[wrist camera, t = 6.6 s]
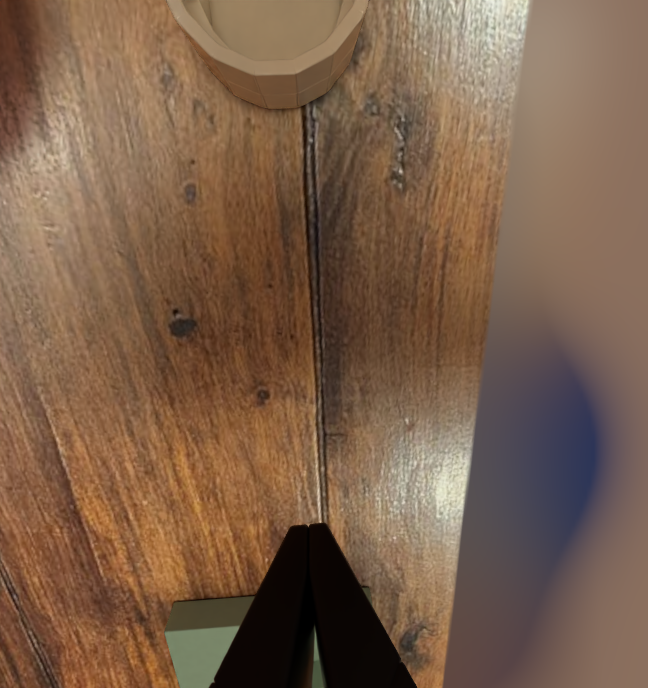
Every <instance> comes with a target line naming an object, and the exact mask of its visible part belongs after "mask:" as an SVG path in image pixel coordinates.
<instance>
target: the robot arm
mask: <svg viewBox="0 0 648 688" xmlns="http://www.w3.org/2000/svg"><path fill="white" fill-rule="evenodd" d="M315 632H316V640H317V648H318V655H319V661H320V668H321V675H322V681H323V688H417V686H416V684H415V683H414V681H413V679H412V677H411V675H410V674H409V672H408V670H407V668H406V666H405V665H404V663H403V662H401V658H400V656H399V654H398V652H397V650H396V649H395V647H394V645H393V643H392V641H391V640H390V638H389V636H388V634H387V632H386V630H385V629H384V627H383V625H382V623H381V621H380V620H379V618H378V616H377V614H376V612H375V610H374V609H373V607H372V605H371V603H370V601H369V600H368V598H367V596H366V594H365V592H364V590H363V589H362V587H361V585H360V583H359V581H358V580H357V578H356V576H355V574H354V572H353V570H352V569H351V567H350V565H349V563H348V561H347V560H346V558H345V556H344V554H343V552H342V550H341V549H340V547H339V545H338V543H337V541H336V540H335V538H334V536H333V534H332V532H331V530H330V529H329V527H328V525H327V524H326V523H314V524H310V525H309V528H308V526H307V525H306V524H304V525H294V526H291V527H290V528H289V530H288V532H287V534H286V536H285V538H284V540H283V542H282V544H281V546H280V548H279V550H278V552H277V554H276V556H275V558H274V560H273V562H272V564H271V566H270V568H269V570H268V572H267V574H266V576H265V578H264V579H263V581H262V583H261V585H260V587H259V589H258V591H257V593H256V595H255V597H254V599H253V601H252V603H251V605H250V607H249V609H248V611H247V613H246V615H245V617H244V619H243V621H242V623H241V625H240V627H239V629H238V631H237V633H236V635H235V637H234V639H233V641H232V643H231V645H230V647H229V649H228V651H227V653H226V655H225V657H224V659H223V661H222V663H221V665H220V667H219V669H218V671H217V673H216V675H215V677H214V682H215V683H214V682H212V683H211V684H210V686H209V688H312V681H313V664H314V646H315Z"/></svg>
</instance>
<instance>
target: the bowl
mask: <svg viewBox="0 0 648 688" xmlns="http://www.w3.org/2000/svg"><path fill="white" fill-rule="evenodd" d="M165 1H166V3H167V5H168V7H169V9H170V11H171V13H172V15H173V17H174V19H175V21H176V22H177V24H178V25H179V26H180V28H181V29H182V31H183V32H184V34H185V35H186V37H187V38H188V40H189V41H190V42H191V44H192V45H193V47H194V48H195V50H196V51H197V53H198V54H199V56H200V57H201V58H202V60H203V61H204V63H205V64H206V66H207V67H208V69H209V70H210V71H211V72H212V73H213V74H214V75H215V76H216V77H217V78H218V79H219V80H220V81H221V82H222V83H223V84H224V85H225V86H226V87H227V88H228V89H229V90H230V91H231V92H232V93H233V94H234V95H235V96H237V97H239V98H241V99H244V100H246V101H249V102H251V103H253V104H256V105H258V106H260V107H263V108H266V107H267V108H268V109H281V108H297V107H301V106H303V105H305V104H307V103H309V102H311V101H312V100H314V99H316V98H318V97H320V96H322V95H324V94H326V92H328V91H329V90H330V89H331V87H332V86H333V85H334V84H335V82H336V81H337V80H338V78H339V77H340V76H341V75H342V73H343V72H344V71H345V70H346V68H347V67H348V65H349V64H350V61H351V58H352V55H353V52H354V49H355V46H356V43H357V40H358V37H359V33H360V30H361V27H362V24H363V21H364V17H365V14H366V11H367V8H368V4H369V1H370V0H165Z"/></svg>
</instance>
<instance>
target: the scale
mask: <svg viewBox="0 0 648 688" xmlns="http://www.w3.org/2000/svg"><path fill="white" fill-rule="evenodd" d="M362 589H363V590H364V592H365V594H366V596H367V598H368V600H369V601H370V603H371V605H372V601H371V595H370V589H369V587H366V588H362ZM254 597H255V596H249V597H236V598H223V599H210V600H197V601H184V602H174V604H173V607H172V610H171V613H170V616H169V619H168V622H167V625H166V628H165V631H164V633H165V637H166V640H167V644H168V648H169V651H170V655H171V658H172V662H173V665H174V669H175V672H176V676H177V679H178V683H179V686H180V688H209V686H210V684H211V683H212V682H214V677H215V675H216V673H217V671H218V669H219V667H220V665H221V663H222V661H223V659H224V657H225V655H226V653H227V651H228V649H229V647H230V645H231V643H232V641H233V639H234V637H235V635H236V633H237V631H238V629H239V627H240V625H241V623H242V621H243V619H244V617H245V615H246V613H247V611H248V609H249V607H250V605H251V603H252V601H253V599H254ZM214 683H215V682H214ZM312 688H323V681H322V675H321V668H320V661H319V655H318V648H317V640H316V632H315V646H314V664H313V681H312Z"/></svg>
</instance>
